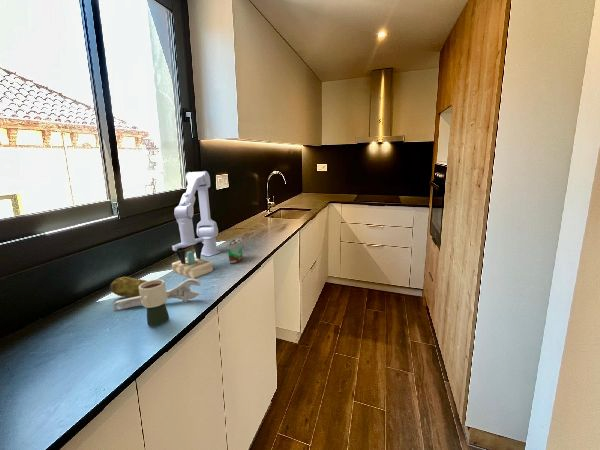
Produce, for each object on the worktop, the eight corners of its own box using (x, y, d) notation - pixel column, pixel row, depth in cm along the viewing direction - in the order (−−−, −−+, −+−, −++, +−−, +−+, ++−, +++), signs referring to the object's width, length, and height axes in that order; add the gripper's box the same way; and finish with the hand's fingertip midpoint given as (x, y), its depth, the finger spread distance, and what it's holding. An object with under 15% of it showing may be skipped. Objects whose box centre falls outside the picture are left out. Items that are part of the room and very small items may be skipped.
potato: (146, 299, 105) (142, 279, 103) (109, 303, 104) (105, 283, 102) (154, 289, 113) (151, 270, 111) (120, 293, 112) (116, 274, 110)
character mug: (154, 314, 94) (147, 277, 91) (176, 312, 95) (170, 275, 92) (138, 333, 84) (130, 293, 81) (163, 331, 84) (155, 291, 81)
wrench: (119, 315, 101) (204, 296, 104) (116, 317, 99) (203, 298, 102) (111, 294, 99) (198, 276, 102) (109, 297, 97) (197, 278, 100)
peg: (188, 271, 130) (185, 252, 128) (193, 269, 132) (191, 251, 130) (191, 272, 128) (188, 253, 126) (197, 270, 130) (194, 252, 128)
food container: (241, 264, 135) (239, 244, 132) (229, 265, 135) (226, 245, 133) (247, 256, 147) (245, 237, 144) (235, 256, 147) (233, 238, 145)
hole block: (173, 271, 131) (171, 263, 130) (192, 264, 139) (191, 256, 138) (193, 278, 122) (191, 269, 121) (212, 270, 129) (211, 262, 129)
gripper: (176, 237, 118) (181, 268, 121) (206, 229, 129) (210, 257, 132) (167, 235, 122) (172, 265, 125) (197, 227, 133) (201, 255, 137)
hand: (191, 261), depth 129 cm, fingers open, 7 cm apart
